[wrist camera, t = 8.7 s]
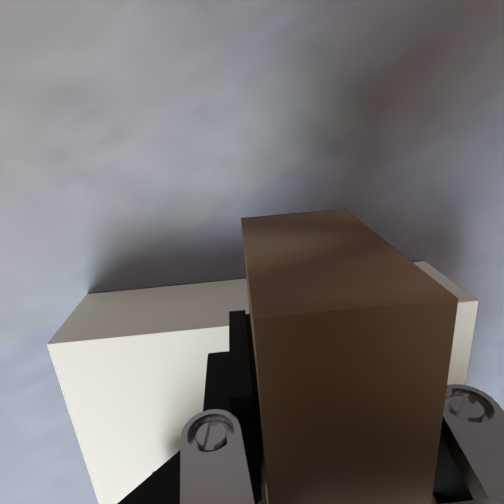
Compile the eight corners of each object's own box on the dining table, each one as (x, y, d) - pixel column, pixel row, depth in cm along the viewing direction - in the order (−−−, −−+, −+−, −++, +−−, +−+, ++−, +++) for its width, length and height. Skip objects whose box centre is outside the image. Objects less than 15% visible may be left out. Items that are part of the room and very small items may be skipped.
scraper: (483, 196, 11) (729, 271, 6) (445, 461, 15) (570, 660, 10) (96, 230, 11) (-41, 346, 5) (157, 492, 15) (114, 718, 9)
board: (424, 261, 17) (478, 300, 14) (405, 472, 22) (440, 544, 19) (86, 294, 17) (46, 344, 13) (142, 502, 22) (124, 582, 18)
